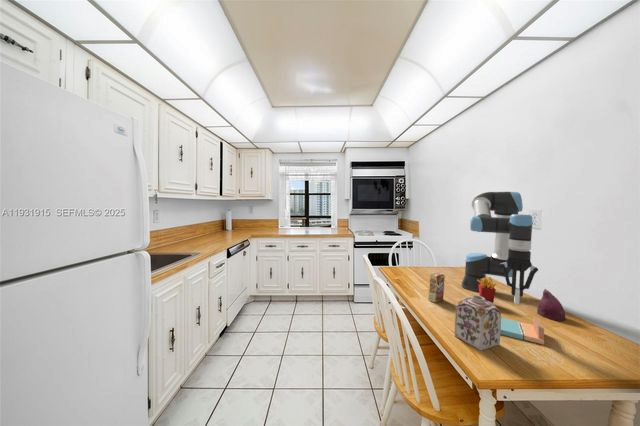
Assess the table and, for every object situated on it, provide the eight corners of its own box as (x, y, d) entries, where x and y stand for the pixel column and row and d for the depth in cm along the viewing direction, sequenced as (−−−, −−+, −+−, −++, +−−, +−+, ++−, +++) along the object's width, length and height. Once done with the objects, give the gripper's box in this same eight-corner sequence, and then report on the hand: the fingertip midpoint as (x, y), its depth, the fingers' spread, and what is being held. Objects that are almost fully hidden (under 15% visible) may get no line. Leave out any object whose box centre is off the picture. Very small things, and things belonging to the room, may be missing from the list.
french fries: (495, 307, 131) (496, 280, 130) (477, 304, 133) (479, 278, 133) (489, 301, 139) (491, 275, 138) (473, 299, 142) (474, 273, 141)
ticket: (486, 318, 117) (487, 314, 117) (518, 325, 111) (518, 321, 110) (487, 330, 106) (487, 326, 106) (523, 339, 99) (523, 335, 99)
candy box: (435, 303, 135) (436, 276, 134) (428, 300, 138) (429, 274, 138) (444, 299, 140) (445, 273, 139) (437, 297, 143) (438, 272, 142)
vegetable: (538, 322, 121) (530, 293, 122) (538, 313, 129) (530, 285, 129) (567, 324, 114) (558, 294, 114) (566, 315, 121) (557, 286, 122)
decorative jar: (453, 335, 101) (455, 293, 100) (471, 330, 106) (473, 290, 105) (482, 352, 90) (484, 305, 89) (501, 345, 95) (503, 300, 94)
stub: (519, 325, 110) (520, 313, 110) (537, 329, 107) (537, 317, 107) (524, 339, 99) (525, 325, 98) (543, 344, 95) (544, 330, 95)
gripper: (501, 249, 105) (498, 302, 106) (541, 252, 98) (538, 310, 98) (500, 246, 111) (497, 297, 112) (537, 250, 104) (534, 304, 105)
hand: (516, 303), depth 105 cm, fingers closed
